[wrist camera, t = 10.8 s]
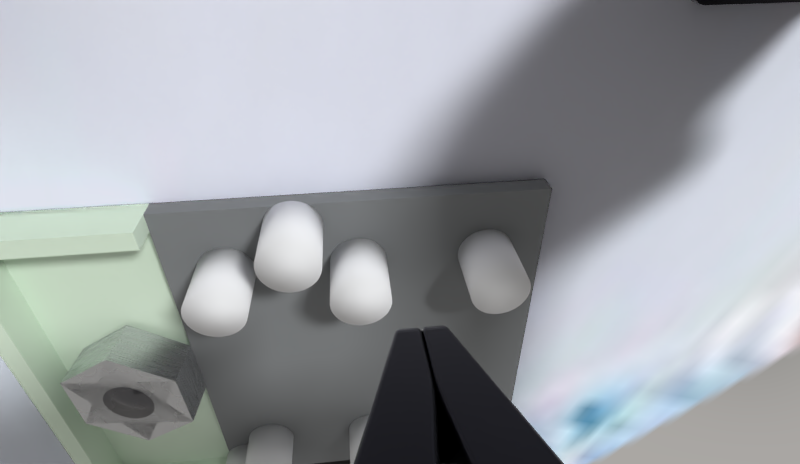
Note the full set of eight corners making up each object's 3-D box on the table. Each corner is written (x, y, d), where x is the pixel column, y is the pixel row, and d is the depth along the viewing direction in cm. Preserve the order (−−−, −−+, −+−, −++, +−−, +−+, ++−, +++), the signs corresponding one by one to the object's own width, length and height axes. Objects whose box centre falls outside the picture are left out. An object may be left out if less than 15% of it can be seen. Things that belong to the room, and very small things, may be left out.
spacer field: (545, 175, 21) (577, 220, 18) (499, 432, 31) (515, 485, 29) (-44, 210, 19) (-108, 267, 16) (116, 471, 29) (94, 532, 27)
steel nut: (182, 323, 22) (165, 359, 21) (213, 403, 26) (200, 439, 24) (71, 325, 22) (45, 361, 21) (116, 405, 26) (97, 441, 24)
